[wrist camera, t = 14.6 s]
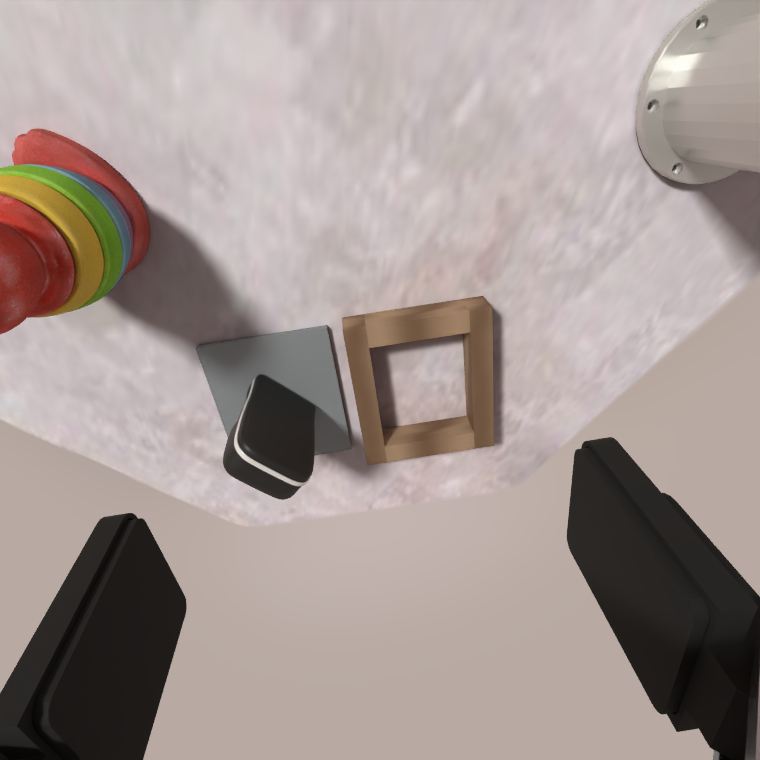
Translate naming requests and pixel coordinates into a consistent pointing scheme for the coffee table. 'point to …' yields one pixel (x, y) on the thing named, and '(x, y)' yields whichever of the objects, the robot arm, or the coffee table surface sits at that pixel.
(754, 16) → the robot arm
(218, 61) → the coffee table surface
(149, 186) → the coffee table surface
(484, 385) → the frame
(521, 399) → the coffee table surface
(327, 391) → the mat
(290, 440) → the battery charger
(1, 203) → the stacking bear
